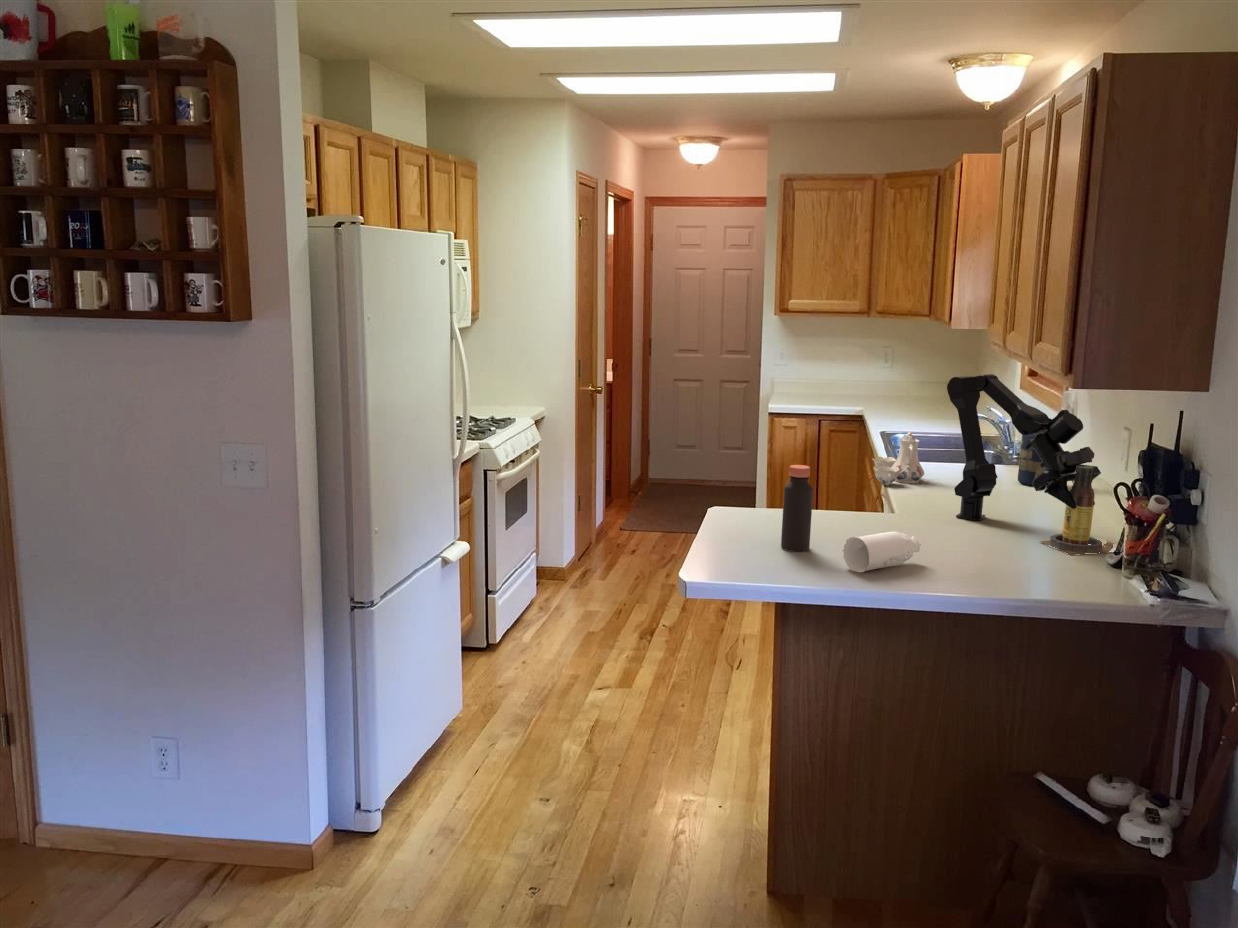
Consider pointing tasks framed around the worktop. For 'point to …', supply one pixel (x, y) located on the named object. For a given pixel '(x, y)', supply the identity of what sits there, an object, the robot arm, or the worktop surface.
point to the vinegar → (797, 510)
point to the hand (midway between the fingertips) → (1084, 506)
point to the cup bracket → (1078, 549)
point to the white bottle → (879, 550)
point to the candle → (1028, 463)
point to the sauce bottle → (1080, 508)
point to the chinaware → (900, 464)
